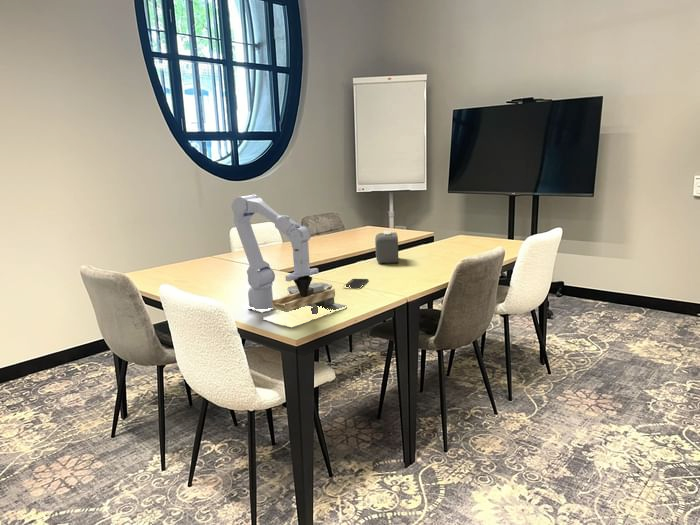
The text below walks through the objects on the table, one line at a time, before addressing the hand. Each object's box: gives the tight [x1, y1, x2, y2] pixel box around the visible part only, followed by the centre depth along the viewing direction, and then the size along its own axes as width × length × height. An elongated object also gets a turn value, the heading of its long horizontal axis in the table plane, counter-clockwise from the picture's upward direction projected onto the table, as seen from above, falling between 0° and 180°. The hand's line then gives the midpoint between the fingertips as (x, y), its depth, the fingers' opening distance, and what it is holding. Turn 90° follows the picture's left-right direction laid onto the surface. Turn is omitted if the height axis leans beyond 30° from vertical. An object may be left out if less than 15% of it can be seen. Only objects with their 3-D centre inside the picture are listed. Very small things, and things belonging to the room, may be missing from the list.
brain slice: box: [286, 282, 333, 295], centre depth 222 cm, size 20×17×3 cm
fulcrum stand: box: [295, 302, 347, 314], centre depth 194 cm, size 28×16×3 cm, turn 138°
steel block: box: [307, 282, 324, 296], centre depth 196 cm, size 5×5×4 cm
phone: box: [343, 278, 369, 288], centre depth 234 cm, size 8×1×15 cm
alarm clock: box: [374, 230, 399, 264], centre depth 278 cm, size 16×11×16 cm
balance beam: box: [272, 288, 336, 312], centre depth 193 cm, size 24×12×6 cm, turn 138°
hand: (303, 296), depth 193 cm, fingers closed
